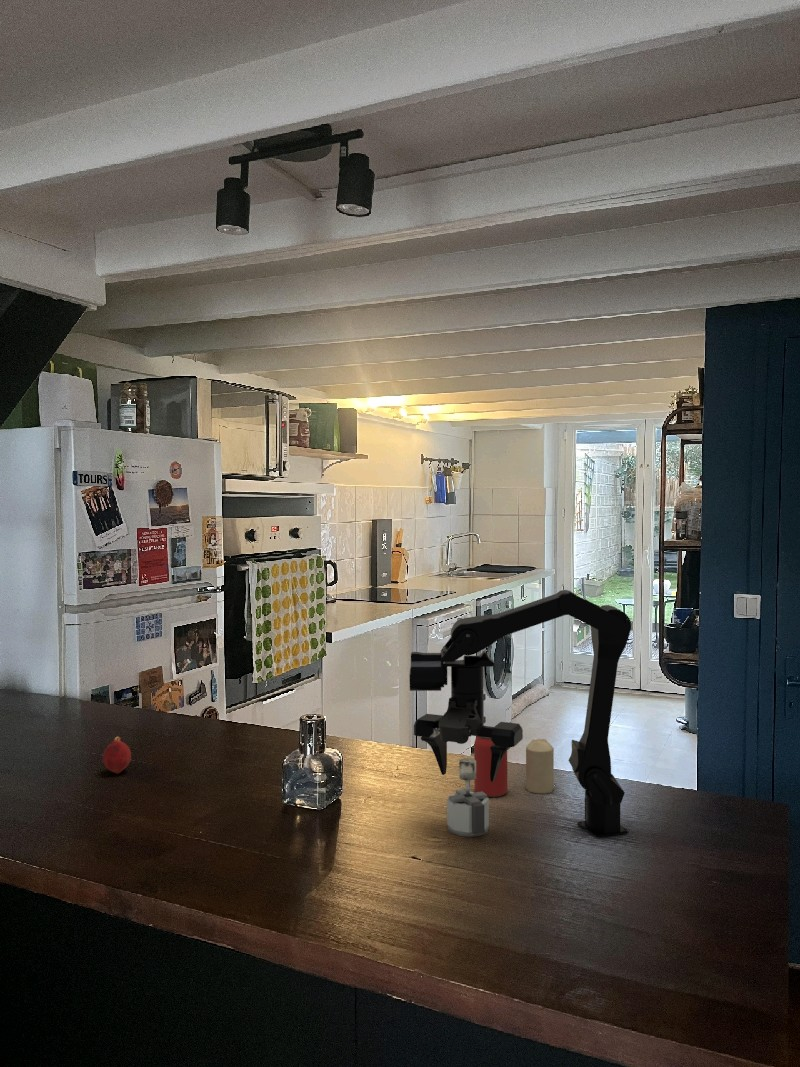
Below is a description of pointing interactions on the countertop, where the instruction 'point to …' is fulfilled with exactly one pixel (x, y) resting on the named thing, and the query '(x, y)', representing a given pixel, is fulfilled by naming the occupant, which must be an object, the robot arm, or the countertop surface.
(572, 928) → the countertop surface
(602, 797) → the robot arm
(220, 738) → the countertop surface
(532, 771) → the candle
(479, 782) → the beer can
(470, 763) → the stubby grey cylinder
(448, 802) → the grey faceted drum
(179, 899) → the countertop surface
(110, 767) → the onion
